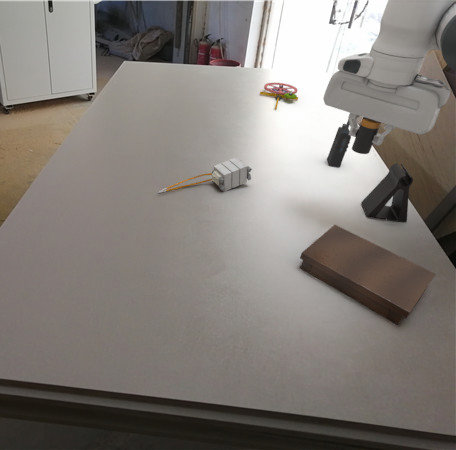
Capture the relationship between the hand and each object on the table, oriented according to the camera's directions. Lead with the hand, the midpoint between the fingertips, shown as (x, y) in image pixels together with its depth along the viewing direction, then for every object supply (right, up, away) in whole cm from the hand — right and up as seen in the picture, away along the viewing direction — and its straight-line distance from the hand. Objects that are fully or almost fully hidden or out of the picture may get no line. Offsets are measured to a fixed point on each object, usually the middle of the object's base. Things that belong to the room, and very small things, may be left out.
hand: (364, 139), depth 81 cm
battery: (0, -2, +1) cm, 2 cm away
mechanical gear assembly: (+7, +34, +80) cm, 87 cm away
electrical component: (-30, -8, +21) cm, 38 cm away
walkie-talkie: (+10, +1, +37) cm, 38 cm away
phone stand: (+13, -14, +17) cm, 26 cm away
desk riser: (-2, -28, -2) cm, 28 cm away
